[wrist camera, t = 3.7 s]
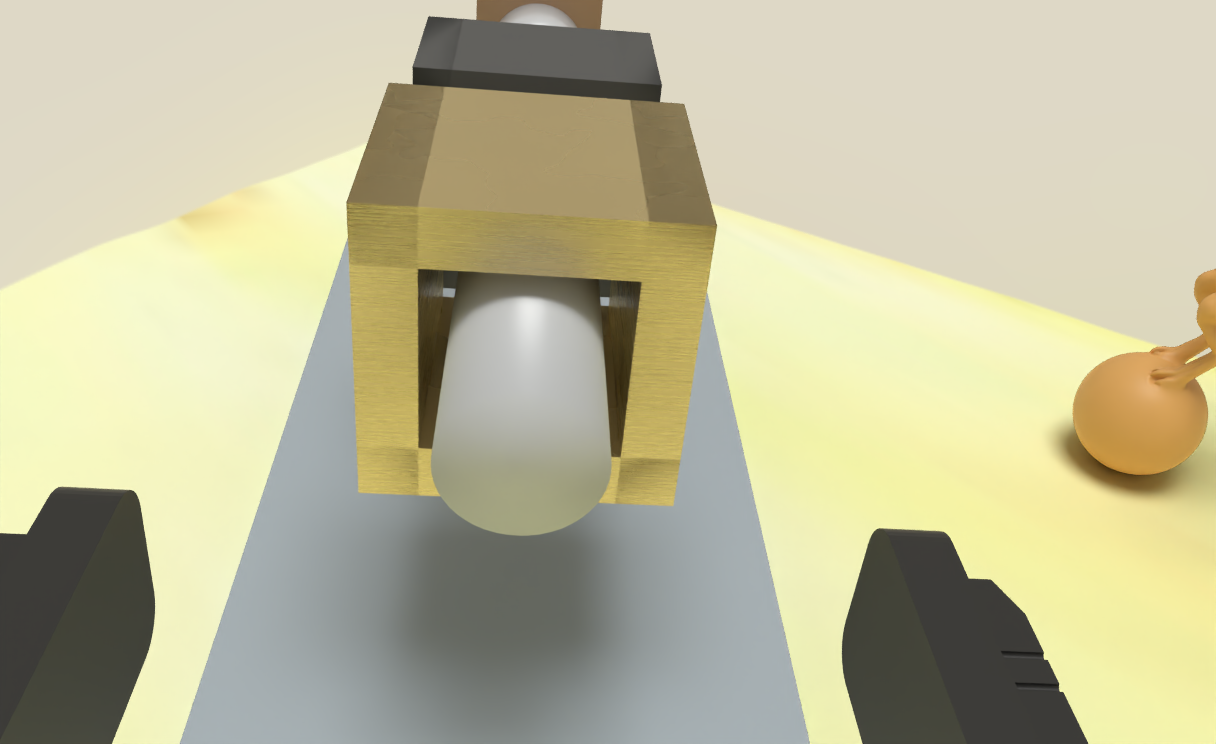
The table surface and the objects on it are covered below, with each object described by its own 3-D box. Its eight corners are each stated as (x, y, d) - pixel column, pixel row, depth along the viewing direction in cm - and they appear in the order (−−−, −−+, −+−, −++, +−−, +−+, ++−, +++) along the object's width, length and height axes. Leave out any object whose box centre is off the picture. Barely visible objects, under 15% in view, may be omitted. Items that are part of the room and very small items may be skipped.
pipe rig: (696, 272, 47) (757, -145, 38) (819, 839, 25) (1029, 171, 16) (349, 251, 45) (332, -183, 37) (164, 828, 24) (16, 101, 15)
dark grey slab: (628, 231, 33) (649, 33, 30) (636, 298, 30) (661, 84, 27) (428, 218, 33) (428, 16, 30) (414, 286, 29) (413, 67, 26)
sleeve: (652, 350, 28) (684, 103, 25) (673, 506, 23) (716, 225, 20) (393, 336, 28) (388, 82, 24) (358, 492, 23) (346, 202, 19)
